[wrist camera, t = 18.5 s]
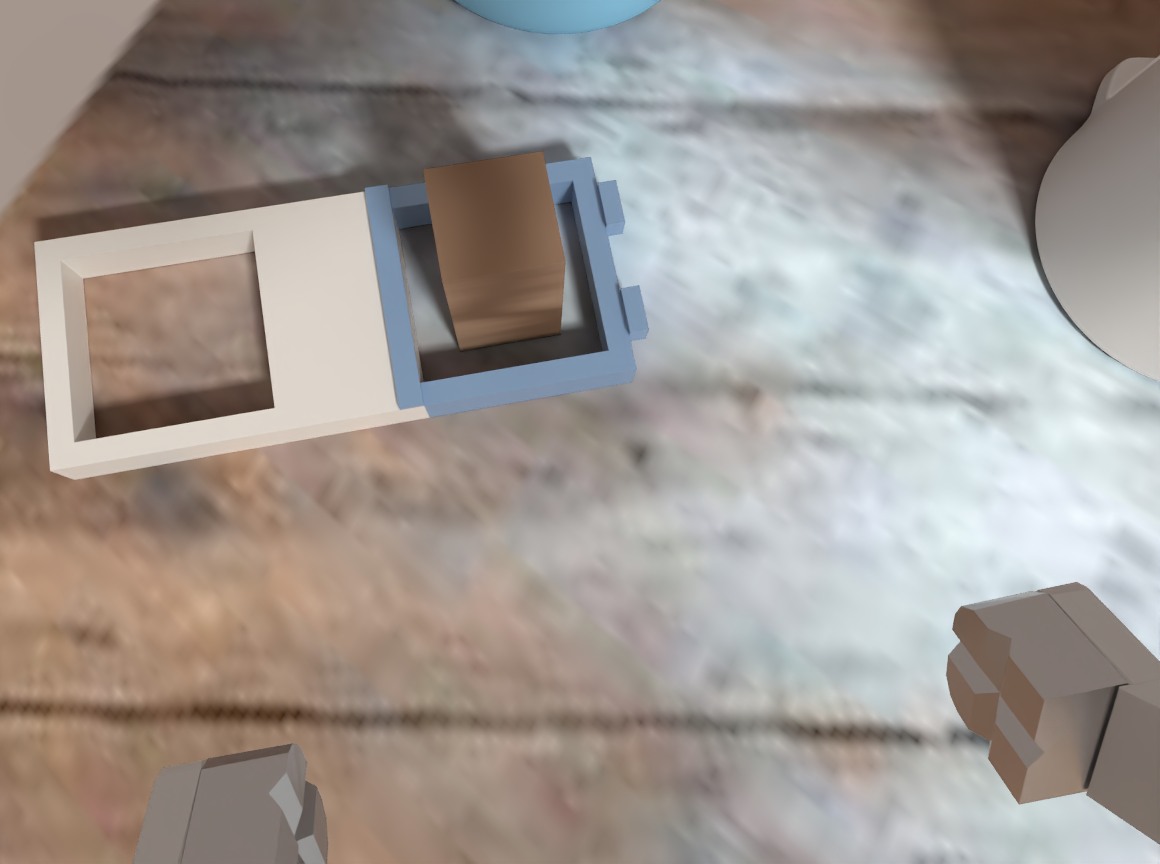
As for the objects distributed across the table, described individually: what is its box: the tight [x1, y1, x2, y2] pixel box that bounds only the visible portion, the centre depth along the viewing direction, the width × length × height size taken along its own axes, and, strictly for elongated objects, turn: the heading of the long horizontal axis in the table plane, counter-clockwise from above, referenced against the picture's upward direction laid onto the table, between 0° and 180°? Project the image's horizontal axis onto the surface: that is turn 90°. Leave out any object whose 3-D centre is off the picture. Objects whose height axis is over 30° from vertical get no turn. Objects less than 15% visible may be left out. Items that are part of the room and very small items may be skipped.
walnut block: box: [423, 151, 565, 351], centre depth 38 cm, size 4×4×8 cm
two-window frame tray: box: [34, 157, 649, 480], centre depth 40 cm, size 25×10×2 cm, turn 101°
